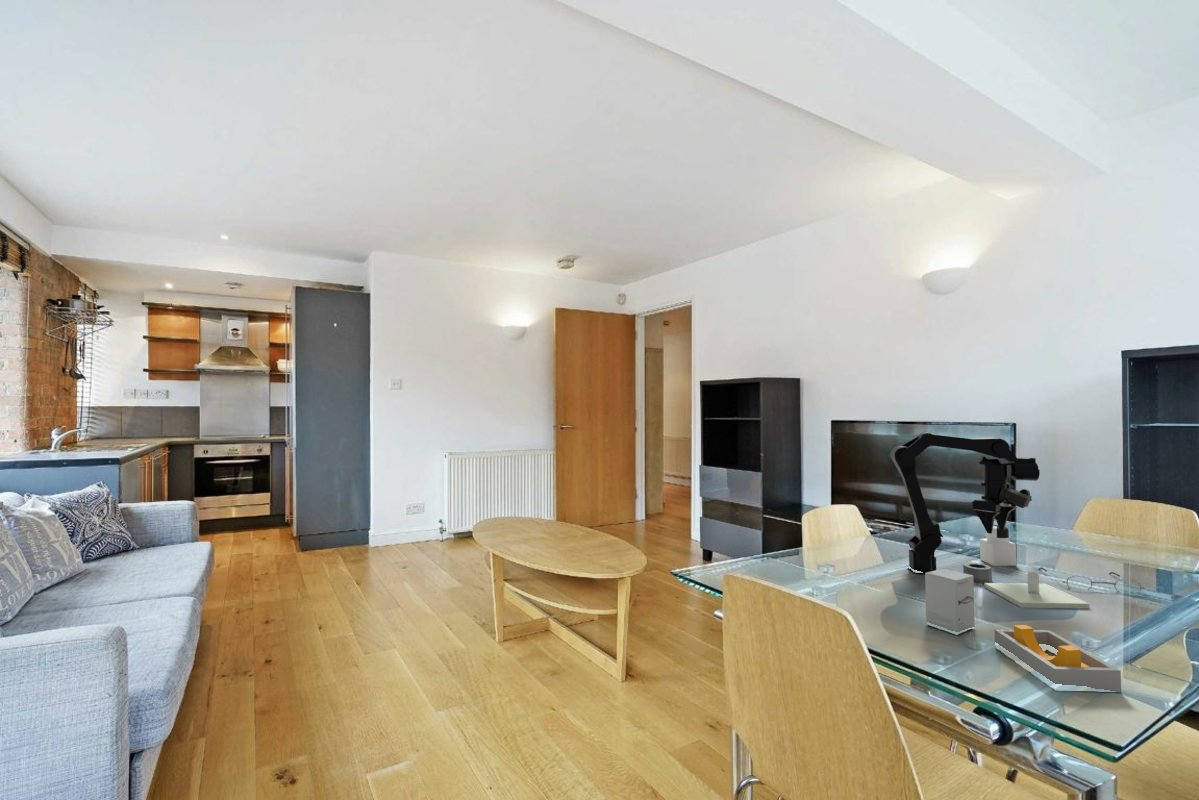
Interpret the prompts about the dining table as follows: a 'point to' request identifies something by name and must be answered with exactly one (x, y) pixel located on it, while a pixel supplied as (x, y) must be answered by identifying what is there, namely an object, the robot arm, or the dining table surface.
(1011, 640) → the parts frame
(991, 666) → the dining table surface
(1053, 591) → the post board
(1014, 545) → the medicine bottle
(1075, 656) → the pipe clamp
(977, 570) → the hub ring
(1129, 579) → the eyeglasses
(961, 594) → the supplement box
